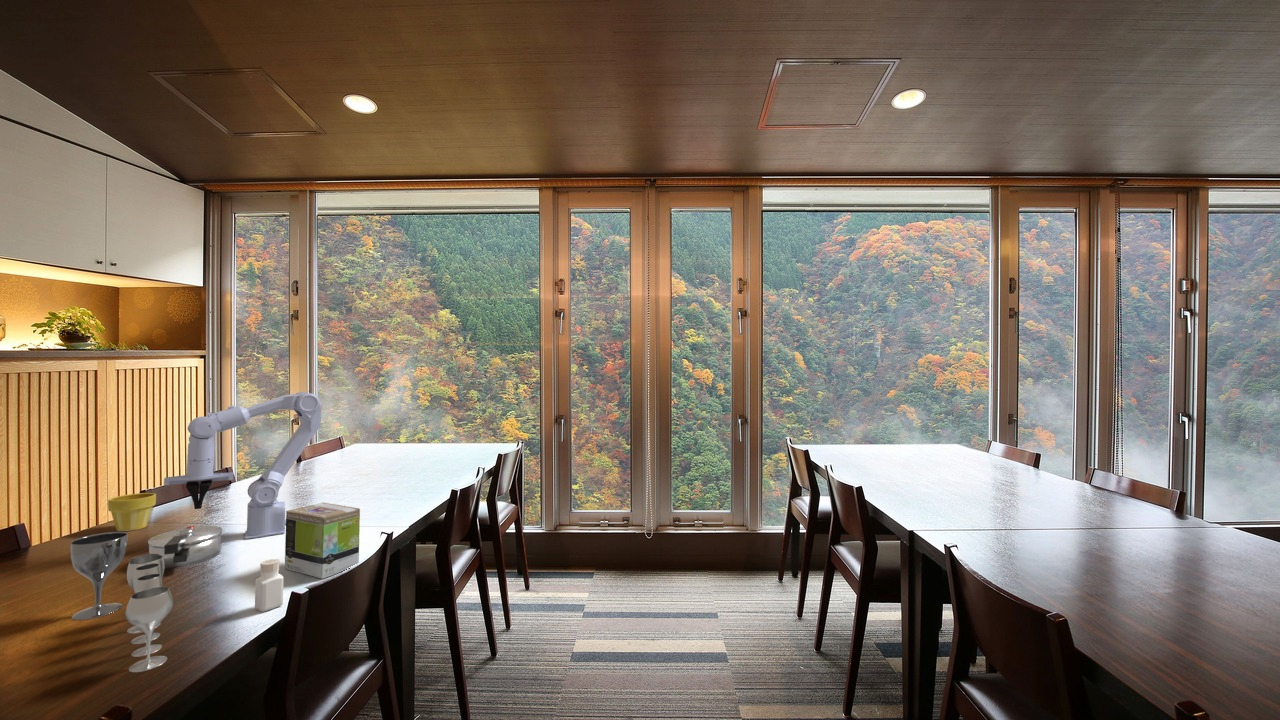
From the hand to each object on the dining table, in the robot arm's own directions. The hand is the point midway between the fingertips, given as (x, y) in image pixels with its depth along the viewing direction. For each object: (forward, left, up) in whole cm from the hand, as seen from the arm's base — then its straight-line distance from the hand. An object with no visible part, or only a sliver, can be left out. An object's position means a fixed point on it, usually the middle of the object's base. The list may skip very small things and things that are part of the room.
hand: (198, 508), depth 141 cm
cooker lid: (+2, +13, -5) cm, 14 cm away
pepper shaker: (-16, +56, -11) cm, 59 cm away
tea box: (-27, +38, -11) cm, 48 cm away
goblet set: (+3, +58, -11) cm, 59 cm away
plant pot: (+17, -31, -11) cm, 37 cm away
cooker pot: (+1, +13, -10) cm, 17 cm away
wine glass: (+12, +38, -11) cm, 41 cm away
